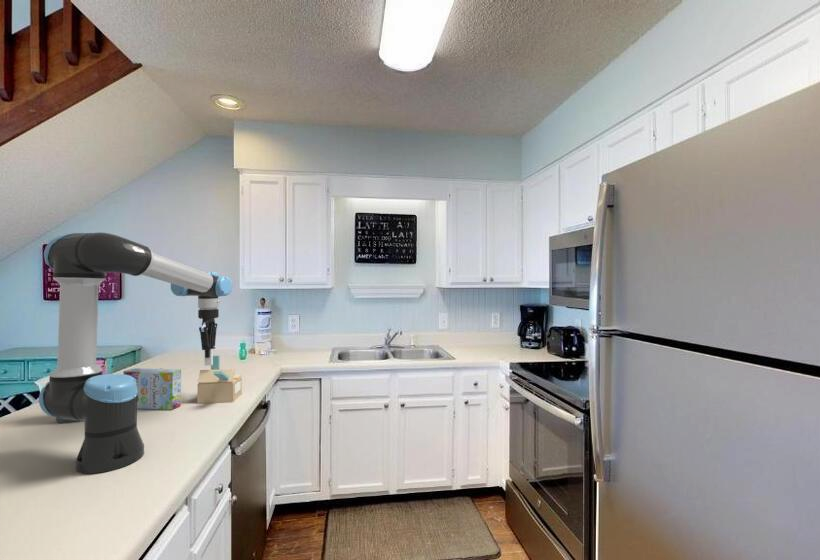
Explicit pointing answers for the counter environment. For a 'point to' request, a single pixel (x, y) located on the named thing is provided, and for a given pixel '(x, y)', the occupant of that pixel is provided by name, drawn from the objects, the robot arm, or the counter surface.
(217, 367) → the flap far
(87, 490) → the counter surface
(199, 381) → the flap near
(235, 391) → the carton
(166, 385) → the snack box
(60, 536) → the counter surface
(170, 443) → the counter surface
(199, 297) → the robot arm
